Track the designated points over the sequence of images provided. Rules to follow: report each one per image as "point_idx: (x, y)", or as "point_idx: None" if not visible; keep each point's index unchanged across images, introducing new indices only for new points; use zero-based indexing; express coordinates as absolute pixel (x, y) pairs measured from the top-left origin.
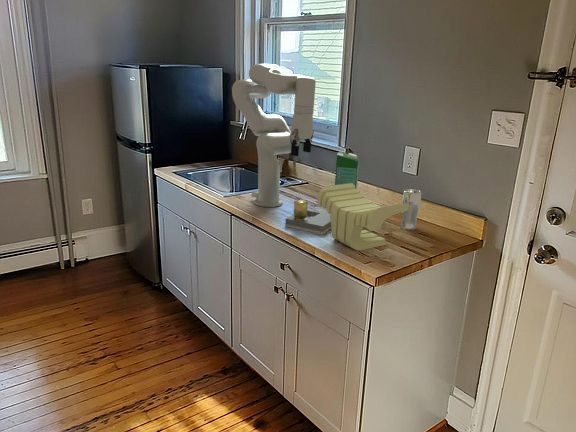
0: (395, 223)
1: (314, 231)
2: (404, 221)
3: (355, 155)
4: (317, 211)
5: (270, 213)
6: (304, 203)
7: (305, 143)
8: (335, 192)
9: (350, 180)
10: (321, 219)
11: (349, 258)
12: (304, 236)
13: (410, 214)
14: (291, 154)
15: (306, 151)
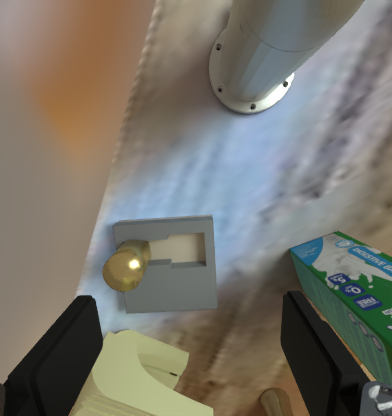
0: (285, 375)
1: None
2: (267, 411)
3: None
4: (213, 255)
5: (175, 134)
6: (115, 289)
7: (319, 380)
8: (121, 407)
9: (355, 344)
10: (164, 291)
11: None
12: (98, 282)
13: None
14: (79, 302)
15: (283, 322)
